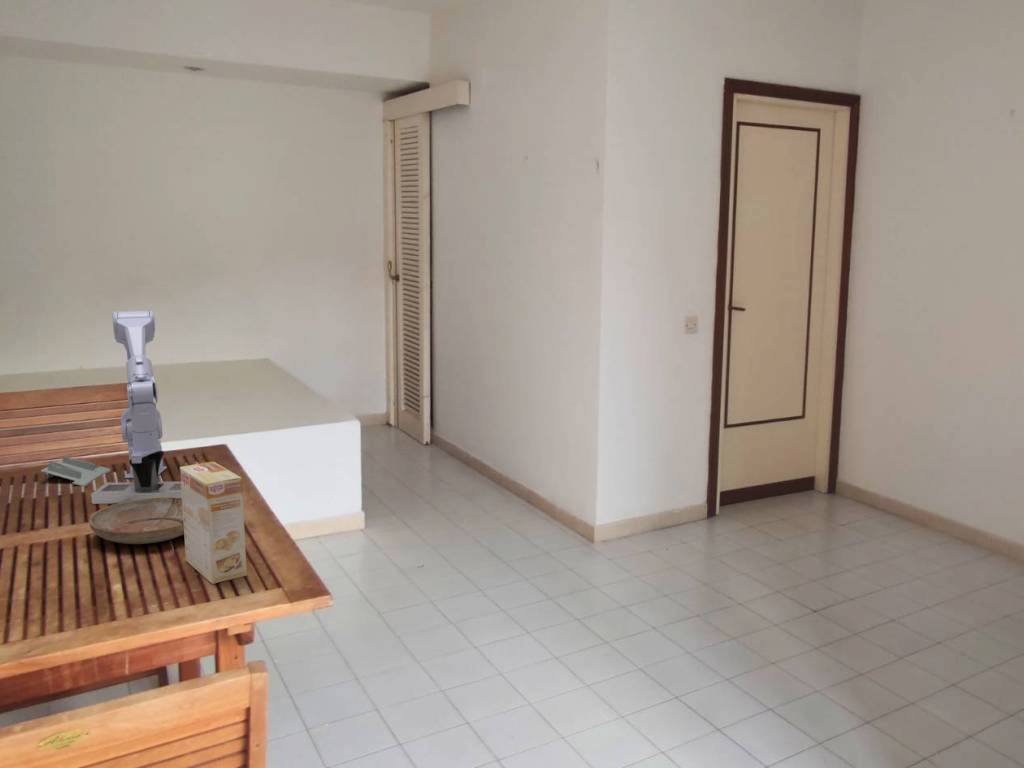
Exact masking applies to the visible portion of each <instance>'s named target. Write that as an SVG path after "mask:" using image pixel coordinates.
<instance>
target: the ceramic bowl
mask: <svg viewBox="0 0 1024 768" xmlns="http://www.w3.org/2000/svg"><path fill="white" fill-rule="evenodd" d="M88 522H89V527H90V529H91V530H92V532H93V533H95V535H97V536H98V537H100V538H102V539H103V540H106V541H110V542H112V543H113V542H114V543H117V544H125V545H145V544H156V543H161V542H162V543H163V542H165V541H166V542H167V541H169V540H173V539H176V538H178V537H181V536H184V523H183V508H182V498H175V497H159V498H147V499H139V500H133V501H127V502H123V503H114V504H111V505H109V506H106V507H104V508H101V509H99V510H97V511H95V512H94V513H93V514H92V515H91V516H90V517H89V520H88Z"/></svg>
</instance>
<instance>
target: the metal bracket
mask: <svg viewBox="0 0 1024 768" xmlns="http://www.w3.org/2000/svg"><path fill="white" fill-rule="evenodd" d="M48 463H49V464H48V465H47V466H46V467H45V468H42V469H41V470H40V472H42V473H45V476H46V480H49V479H50V478H53V477H54V476H56V477H58V478H59V477H60V478H63V479H67V480H70V481H73V482H72V484H73V485H75V486H80V487H85V486H87V485H89V484H90V483H92V482H93V481H95V480H97V479H99V477H101V476H103V475H106V474H107V473H109V472H110V471H111V468H109V467H105V466H102V465H101V466H99V467H96V464H95V463H92V462H89V461H87V460H82V459H72V458H71V457H69V455H68V456H67V455H65V456H63V457H62V459H60V460H58V461H54V460H49V462H48Z"/></svg>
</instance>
